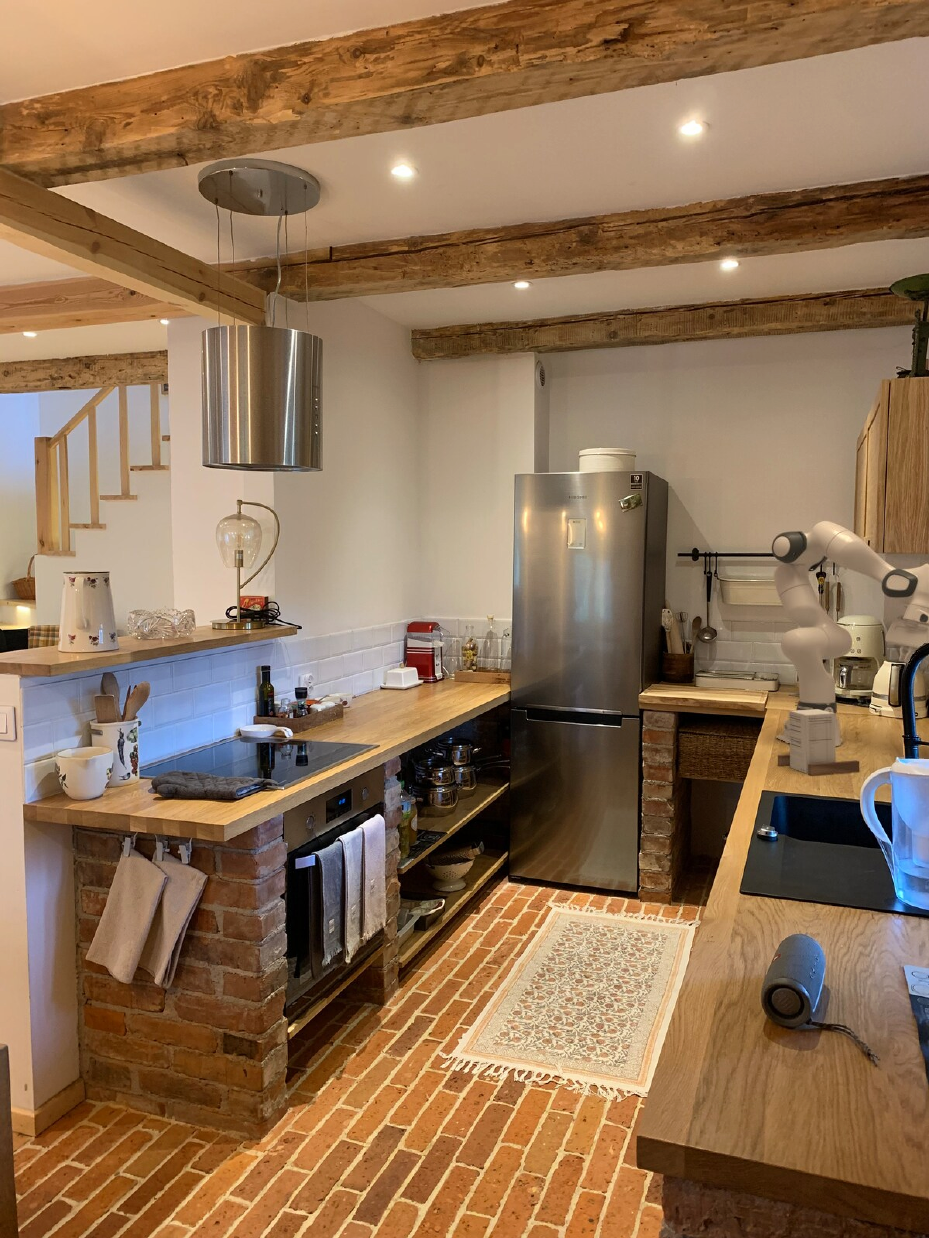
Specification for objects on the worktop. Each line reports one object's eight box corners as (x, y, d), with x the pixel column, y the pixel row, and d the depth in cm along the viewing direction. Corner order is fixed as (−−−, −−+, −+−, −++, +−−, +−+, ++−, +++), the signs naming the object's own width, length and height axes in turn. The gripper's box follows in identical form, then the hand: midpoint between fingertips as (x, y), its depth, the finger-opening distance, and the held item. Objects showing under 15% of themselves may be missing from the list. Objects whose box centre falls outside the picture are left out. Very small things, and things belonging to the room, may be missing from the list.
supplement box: (818, 765, 263) (818, 708, 263) (837, 771, 254) (836, 712, 254) (788, 767, 262) (788, 710, 261) (805, 773, 253) (805, 714, 252)
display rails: (777, 765, 265) (777, 755, 265) (823, 761, 269) (823, 751, 269) (811, 775, 250) (811, 765, 250) (859, 771, 254) (859, 761, 254)
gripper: (889, 611, 276) (873, 653, 277) (934, 618, 256) (917, 664, 256) (906, 617, 277) (890, 659, 278) (952, 625, 257) (936, 670, 258)
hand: (904, 662), depth 267 cm, fingers closed
